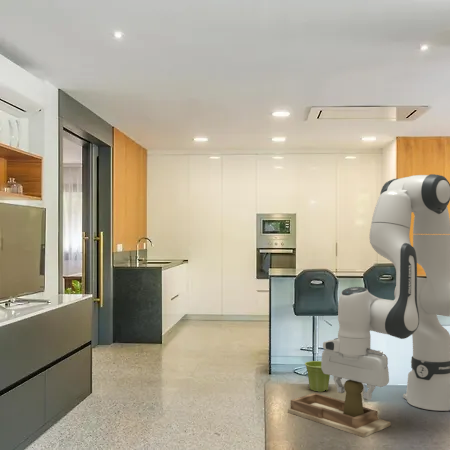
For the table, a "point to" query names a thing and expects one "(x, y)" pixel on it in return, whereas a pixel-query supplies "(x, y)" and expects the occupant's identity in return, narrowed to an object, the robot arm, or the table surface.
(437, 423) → the table surface
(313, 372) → the plant pot
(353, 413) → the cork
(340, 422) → the wooden tray
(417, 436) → the table surface
